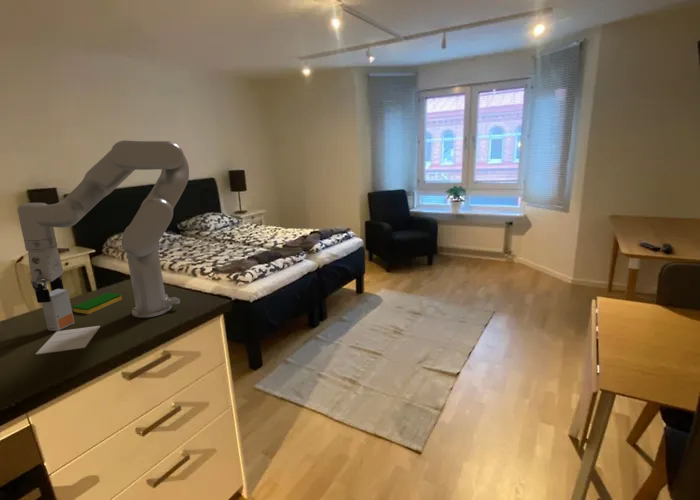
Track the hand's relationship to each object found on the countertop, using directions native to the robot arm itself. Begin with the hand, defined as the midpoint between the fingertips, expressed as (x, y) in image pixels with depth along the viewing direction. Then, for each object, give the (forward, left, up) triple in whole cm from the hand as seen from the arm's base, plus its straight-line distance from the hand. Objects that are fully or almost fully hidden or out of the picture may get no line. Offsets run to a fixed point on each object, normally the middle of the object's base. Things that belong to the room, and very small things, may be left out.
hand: (51, 296), depth 119 cm
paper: (-7, +11, -11) cm, 17 cm away
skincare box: (-1, 0, -11) cm, 11 cm away
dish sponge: (-7, -16, -11) cm, 21 cm away
